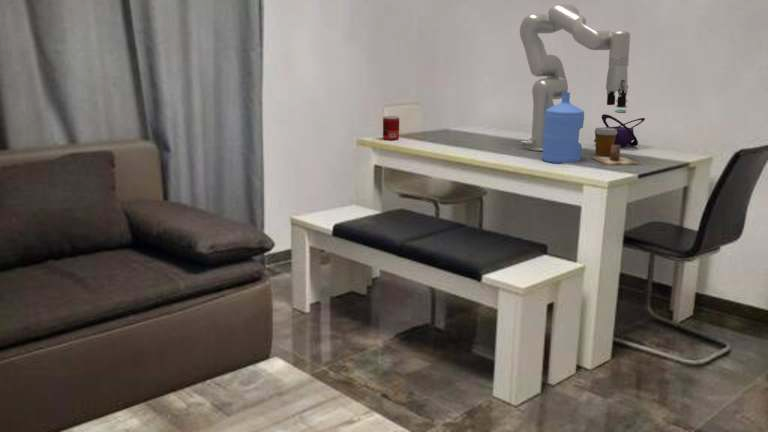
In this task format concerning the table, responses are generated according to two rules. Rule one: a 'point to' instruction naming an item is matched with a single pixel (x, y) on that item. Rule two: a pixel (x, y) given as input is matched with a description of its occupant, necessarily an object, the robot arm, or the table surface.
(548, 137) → the water jug
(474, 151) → the table surface
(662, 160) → the table surface
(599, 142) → the disposable coffee cup
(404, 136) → the table surface
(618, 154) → the oak lid
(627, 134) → the decorative bottle
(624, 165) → the rubber mat
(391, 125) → the canned food
